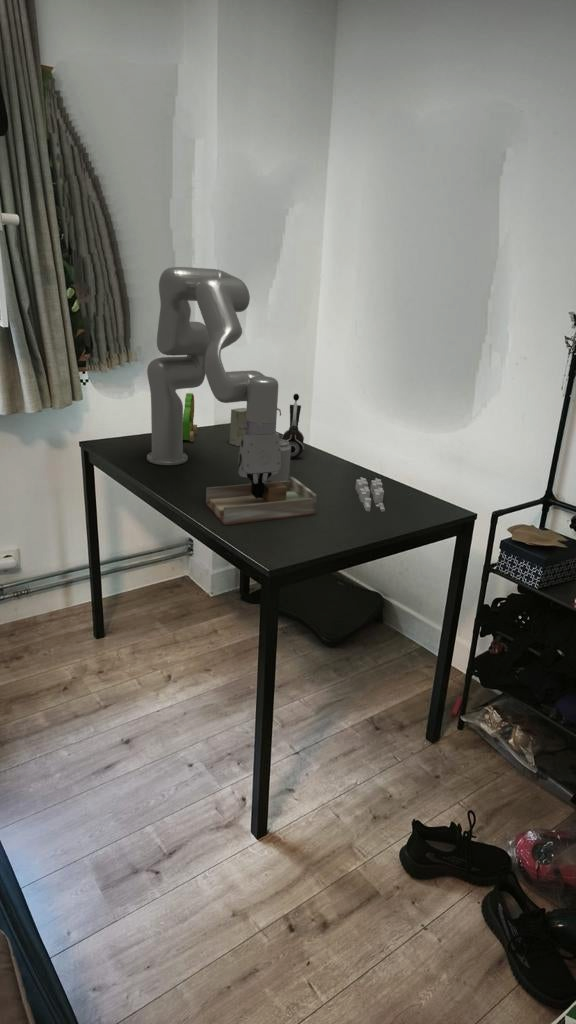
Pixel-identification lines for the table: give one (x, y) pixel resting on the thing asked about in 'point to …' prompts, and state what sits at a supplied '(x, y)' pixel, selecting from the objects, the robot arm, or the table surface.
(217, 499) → the trap box
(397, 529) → the table surface
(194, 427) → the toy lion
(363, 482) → the modular blocks
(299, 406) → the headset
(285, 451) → the can
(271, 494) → the walnut block
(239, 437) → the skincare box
